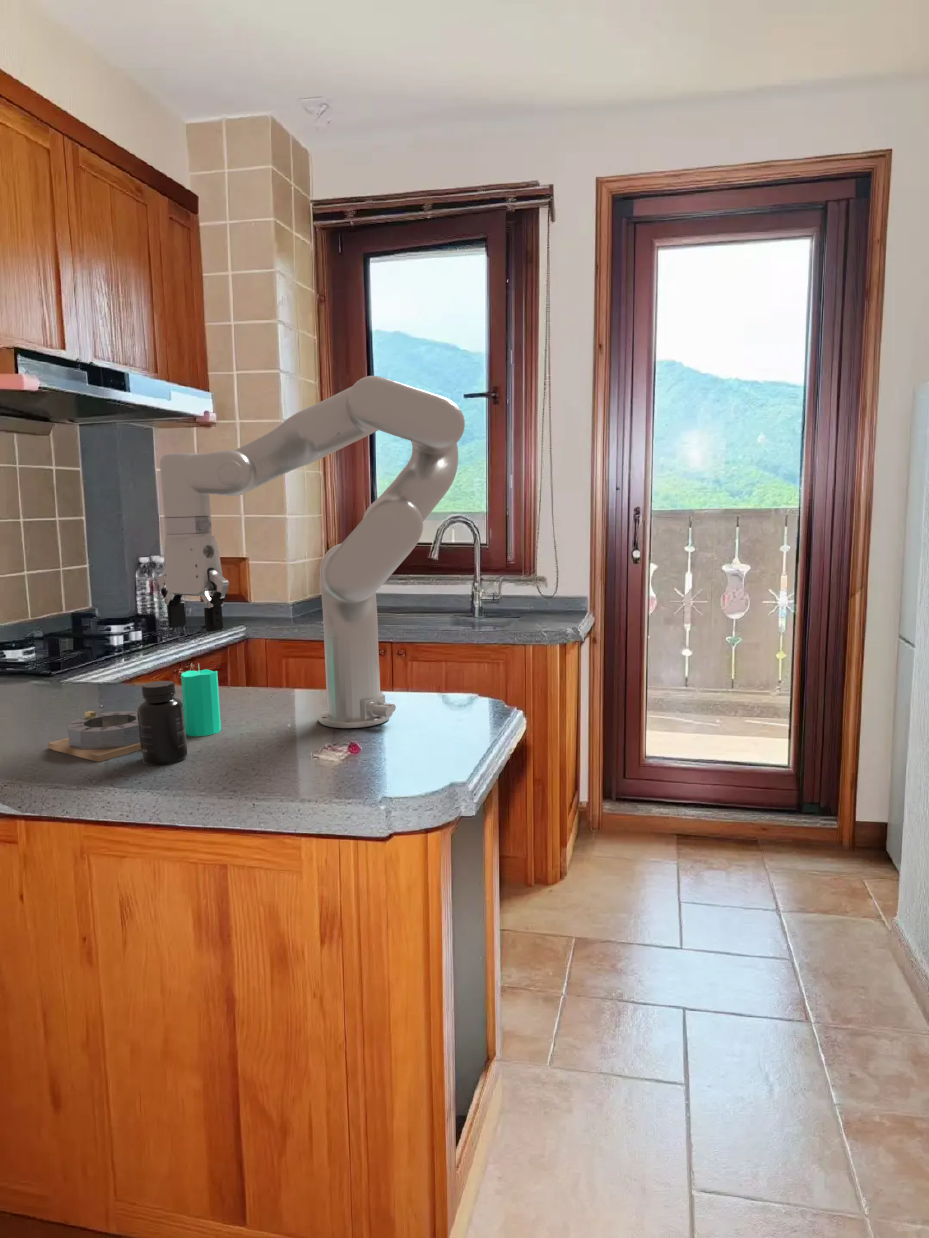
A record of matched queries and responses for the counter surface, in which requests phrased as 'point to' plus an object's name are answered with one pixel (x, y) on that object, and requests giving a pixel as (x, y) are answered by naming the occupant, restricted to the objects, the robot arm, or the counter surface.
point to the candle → (201, 702)
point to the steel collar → (104, 730)
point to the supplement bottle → (161, 724)
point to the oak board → (92, 754)
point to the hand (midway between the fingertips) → (195, 628)
